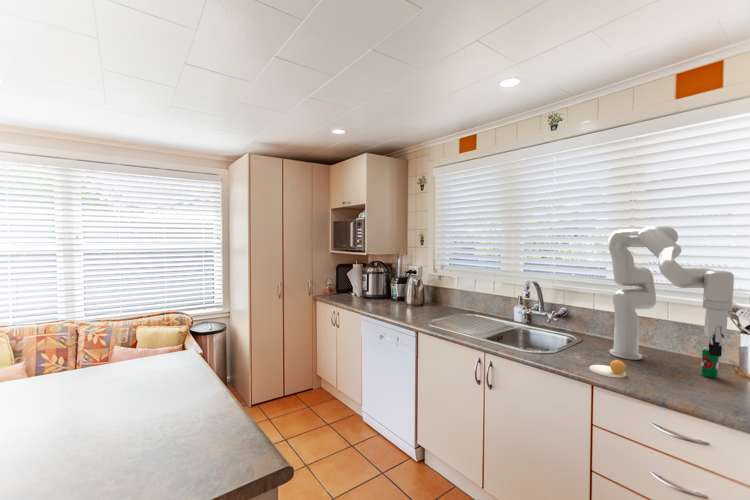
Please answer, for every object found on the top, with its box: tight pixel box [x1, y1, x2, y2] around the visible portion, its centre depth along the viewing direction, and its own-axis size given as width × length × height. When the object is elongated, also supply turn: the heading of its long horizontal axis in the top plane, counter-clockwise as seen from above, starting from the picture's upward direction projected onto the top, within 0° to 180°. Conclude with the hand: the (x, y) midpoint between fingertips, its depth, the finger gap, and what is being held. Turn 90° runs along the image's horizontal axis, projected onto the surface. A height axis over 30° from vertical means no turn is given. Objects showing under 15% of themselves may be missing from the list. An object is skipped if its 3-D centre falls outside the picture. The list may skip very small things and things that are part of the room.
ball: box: [609, 359, 627, 374], centre depth 143 cm, size 6×6×6 cm
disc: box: [588, 364, 627, 379], centre depth 145 cm, size 13×13×1 cm
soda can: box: [700, 345, 720, 379], centre depth 140 cm, size 5×5×12 cm
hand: (714, 355), depth 125 cm, fingers closed
